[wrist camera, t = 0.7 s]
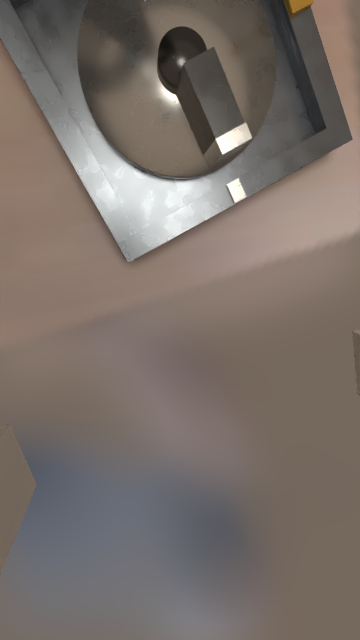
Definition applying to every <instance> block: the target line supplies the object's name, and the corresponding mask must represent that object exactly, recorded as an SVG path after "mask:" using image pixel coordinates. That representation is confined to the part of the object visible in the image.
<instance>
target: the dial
mask: <svg viewBox="0 0 360 640" xmlns="http://www.w3.org/2000/svg"><path fill="white" fill-rule="evenodd" d="M77 60H78V71H79V77H80V82H81V87H82V91H83V94H84V97H85V100H86V103H87V106H88V108H89V110H90V113H91V115H92V117H93V119H94V121H95V123H96V125H97V127H98V128H99V130H100V132H101V133H102V135H103V136H104V137H105V139H106V140H107V141H108V143H109V144H110V145H111V146H112V147H113V148H114V149H115V150H116V151H117V152H118V153H119V154H120V155H121V156H122V157H123V158H125V159H126V160H127V161H128V162H130V163H131V164H133V165H134V166H136V167H138V168H139V169H141V170H143V171H146V172H148V173H150V174H153V175H157V176H160V177H164V178H171V179H190V178H197V177H201V176H204V175H207V174H210V173H212V172H214V171H217V170H219V169H221V168H222V167H224V166H225V165H227V164H228V163H230V162H231V161H232V160H233V159H234V158H236V157H237V156H238V155H239V154H240V153H241V152H243V151H244V149H245V148H246V147H247V146H248V145H249V144H250V143H251V142H252V140H253V139H254V137H255V136H256V134H257V133H258V132H259V130H260V128H261V126H262V124H263V122H264V120H265V118H266V115H267V113H268V110H269V108H270V104H271V101H272V97H273V93H274V86H275V80H276V54H275V45H274V40H273V34H272V31H271V27H270V24H269V21H268V18H267V16H266V13H265V11H264V8H263V6H262V4H261V2H260V1H259V0H88V3H87V5H86V7H85V10H84V13H83V17H82V20H81V24H80V29H79V36H78V49H77Z"/></svg>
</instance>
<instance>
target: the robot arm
mask: <svg viewBox="0 0 360 640" xmlns="http://www.w3.org/2000/svg"><path fill="white" fill-rule="evenodd" d="M352 332H353V345H354V357H355V370H356V383H357V394H358V395H360V329H359V330H355V331H352ZM35 487H36V483H35V480H34V478H33V476H32V474H31V471H30V469H29V467H28V464H27V462H26V460H25V458H24V456H23V453H22V451H21V449H20V447H19V444H18V442H17V440H16V437H15V435H14V433H13V430H12V428H11V426H10V424H7V425H4V426H0V574H1V571H2V569H3V566H4V564H5V561H6V559H7V556H8V554H9V551H10V549H11V546H12V544H13V541H14V539H15V537H16V534H17V532H18V529H19V527H20V524H21V522H22V519H23V517H24V514H25V512H26V509H27V507H28V505H29V502H30V500H31V497H32V495H33V492H34V490H35Z"/></svg>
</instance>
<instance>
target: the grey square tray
mask: <svg viewBox="0 0 360 640" xmlns="http://www.w3.org/2000/svg"><path fill="white" fill-rule="evenodd" d="M259 1H260V2H261V4H262V6H263V8H264V11H265V13H266V16H267V18H268V21H269V24H270V27H271V31H272V34H273V40H274V45H275V54H276V80H275V86H274V93H273V97H272V101H271V104H270V108H269V110H268V113H267V115H266V118H265V120H264V122H263V124H262V126H261V128H260V130H259V132H258V133H257V134H256V136H255V137H254V139H253V140H252V142H251V143H250V144H249V145H248V146H247V147H246V148H245V149H244V151H243V152H241V153H240V154H239V155H238V156H237V157H236V158H234V159H233V160H232V161H231V162H230V163H228V164H227V165H225V166H224V167H222V168H221V169H219V170H217V171H214V172H212V173H210V174H207V175H204V176H201V177H197V178H190V179H171V178H164V177H160V176H157V175H153V174H150V173H148V172H146V171H143V170H141V169H139V168H138V167H136V166H134V165H133V164H131V163H130V162H128V161H127V160H126V159H125V158H123V157H122V156H121V155H120V154H119V153H118V152H117V151H116V150H115V149H114V148H113V147H112V146H111V145H110V144H109V143H108V141H107V140H106V139H105V137H104V136H103V135H102V133H101V132H100V130H99V128H98V127H97V125H96V123H95V121H94V119H93V117H92V115H91V113H90V110H89V108H88V106H87V103H86V100H85V97H84V94H83V91H82V87H81V82H80V77H79V71H78V60H77V49H78V36H79V29H80V24H81V20H82V17H83V13H84V10H85V7H86V5H87V3H88V0H0V38H1V40H2V42H3V43H4V45H5V47H6V49H7V50H8V52H9V54H10V56H11V58H12V59H13V61H14V63H15V65H16V66H17V68H18V70H19V72H20V73H21V75H22V77H23V79H24V80H25V82H26V84H27V86H28V87H29V89H30V91H31V93H32V94H33V96H34V98H35V100H36V101H37V103H38V105H39V107H40V108H41V110H42V112H43V114H44V115H45V117H46V119H47V121H48V122H49V124H50V126H51V128H52V129H53V131H54V133H55V135H56V136H57V138H58V140H59V142H60V144H61V145H62V147H63V149H64V151H65V152H66V154H67V156H68V158H69V159H70V161H71V163H72V165H73V166H74V168H75V170H76V172H77V173H78V175H79V177H80V179H81V180H82V182H83V184H84V186H85V187H86V189H87V191H88V193H89V194H90V196H91V198H92V200H93V201H94V203H95V205H96V207H97V208H98V210H99V212H100V214H101V215H102V217H103V219H104V221H105V223H106V224H107V226H108V228H109V230H110V231H111V233H112V235H113V237H114V238H115V240H116V242H117V244H118V245H119V247H120V249H121V251H122V252H123V254H124V256H125V258H126V259H127V261H128V263H129V262H131V261H132V260H134V259H136V258H138V257H140V256H141V255H143V254H145V253H147V252H149V251H151V250H152V249H154V248H156V247H158V246H160V245H161V244H163V243H165V242H167V241H169V240H171V239H172V238H174V237H176V236H178V235H180V234H181V233H183V232H185V231H187V230H189V229H191V228H192V227H194V226H196V225H198V224H200V223H202V222H203V221H205V220H207V219H209V218H211V217H212V216H214V215H216V214H218V213H220V212H222V211H223V210H225V209H227V208H229V207H231V206H232V205H234V204H236V203H238V202H240V201H242V200H243V199H245V198H247V197H249V196H251V195H252V194H254V193H256V192H258V191H260V190H262V189H263V188H265V187H267V186H269V185H271V184H272V183H274V182H276V181H278V180H280V179H282V178H283V177H285V176H287V175H289V174H291V173H292V172H294V171H296V170H298V169H300V168H302V167H303V166H305V165H307V164H309V163H311V162H312V161H314V160H316V159H318V158H320V157H322V156H323V155H325V154H327V153H329V152H331V151H332V150H334V149H336V148H338V147H340V146H342V145H343V144H345V143H347V142H349V141H351V140H352V136H351V133H350V130H349V126H348V123H347V120H346V117H345V114H344V111H343V108H342V104H341V101H340V98H339V95H338V92H337V89H336V85H335V82H334V79H333V76H332V73H331V70H330V67H329V63H328V60H327V57H326V54H325V51H324V48H323V45H322V41H321V38H320V35H319V32H318V29H317V26H316V23H315V19H314V16H313V13H312V10H311V7H310V6H311V5H312V4H313V2H314V1H313V0H259Z"/></svg>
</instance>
